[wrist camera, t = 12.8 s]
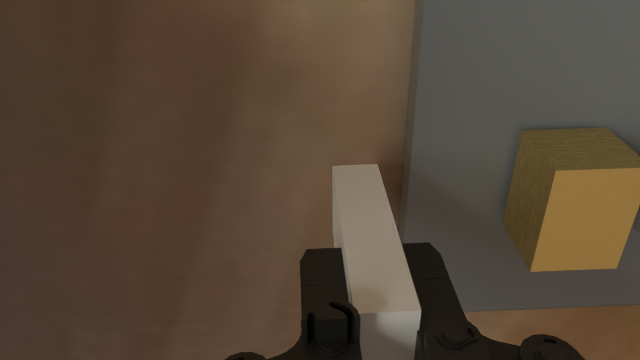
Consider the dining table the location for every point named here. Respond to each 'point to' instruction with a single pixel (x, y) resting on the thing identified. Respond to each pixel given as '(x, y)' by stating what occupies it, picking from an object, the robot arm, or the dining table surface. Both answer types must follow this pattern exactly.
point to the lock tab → (572, 198)
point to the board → (512, 134)
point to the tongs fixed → (637, 219)
